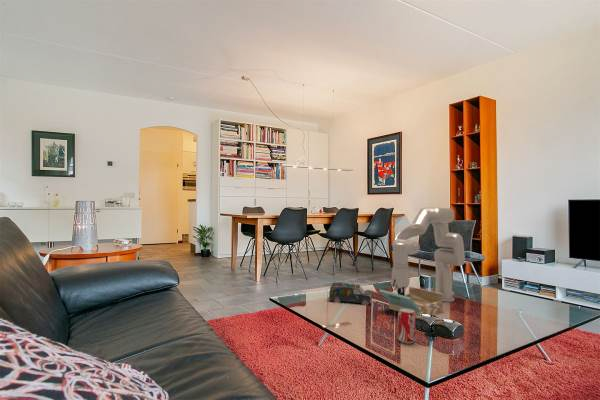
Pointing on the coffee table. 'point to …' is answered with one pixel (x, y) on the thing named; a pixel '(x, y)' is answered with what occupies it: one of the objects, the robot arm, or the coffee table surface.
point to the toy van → (349, 293)
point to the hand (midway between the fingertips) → (401, 299)
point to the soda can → (406, 325)
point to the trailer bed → (423, 301)
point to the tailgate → (400, 300)
